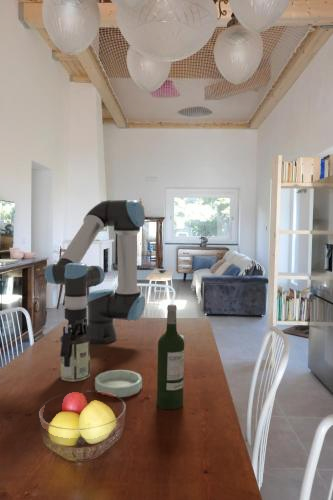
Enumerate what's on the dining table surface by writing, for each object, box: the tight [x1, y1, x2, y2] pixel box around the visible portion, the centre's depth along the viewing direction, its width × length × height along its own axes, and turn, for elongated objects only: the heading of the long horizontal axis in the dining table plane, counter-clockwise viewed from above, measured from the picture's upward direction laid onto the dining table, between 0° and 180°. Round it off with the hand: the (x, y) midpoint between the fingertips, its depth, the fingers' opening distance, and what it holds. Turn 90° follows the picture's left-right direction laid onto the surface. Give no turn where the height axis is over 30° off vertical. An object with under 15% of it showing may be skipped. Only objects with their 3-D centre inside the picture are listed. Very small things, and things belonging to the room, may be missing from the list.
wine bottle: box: [156, 303, 185, 410], centre depth 115 cm, size 8×8×30 cm
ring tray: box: [94, 369, 143, 398], centre depth 127 cm, size 15×15×3 cm
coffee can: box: [59, 333, 91, 382], centre depth 136 cm, size 10×10×14 cm
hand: (75, 369), depth 136 cm, fingers closed on coffee can, 10 cm apart
